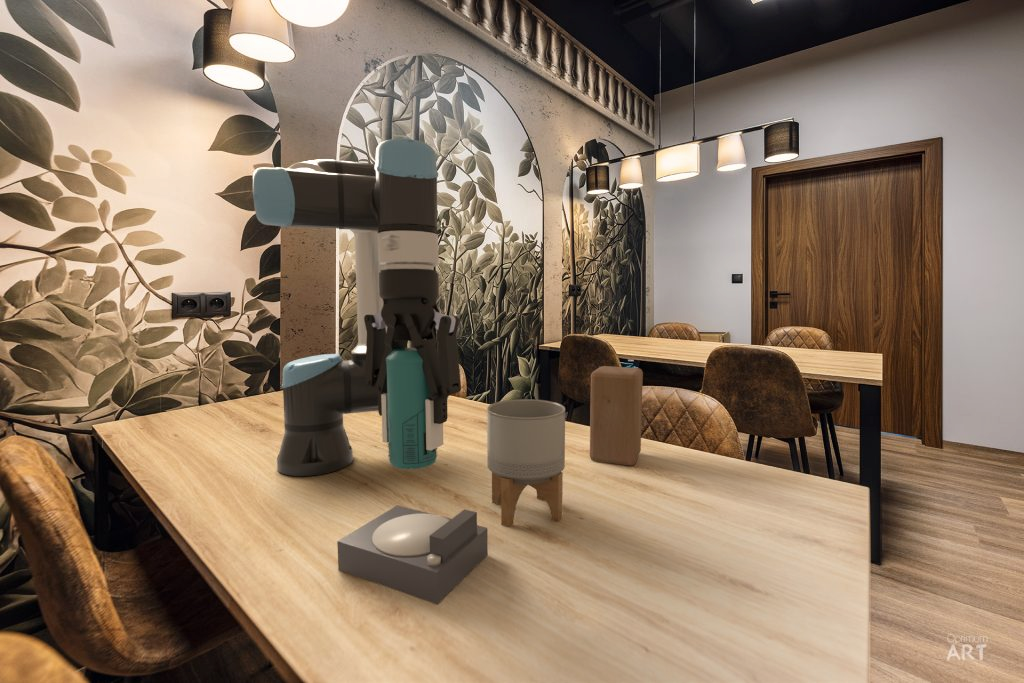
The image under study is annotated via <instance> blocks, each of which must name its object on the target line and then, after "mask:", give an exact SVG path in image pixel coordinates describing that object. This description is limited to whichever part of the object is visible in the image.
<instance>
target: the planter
mask: <svg viewBox="0 0 1024 683" xmlns="http://www.w3.org/2000/svg"><path fill="white" fill-rule="evenodd" d="M486 408H487V409H486V421H487V423H486V425H487V428H486V432H487V433H486V434H487V435H486V436H487V442H486V444H487V445H486V446H487V448H486V449H487V450H486V452H487V469H488V470H489V471H490V472H491V503H492V504H493V505H496V506H497V505H500V504H501V505H500V507H501V510H500V511H501V513H500V515H501V519H500V520H501V521H500V522H501V524H500V525H501V526H504V527H506V528H510V527H512V526H513V525H514V520H515V511H516V507H517V504H518V501H519V500H520V496H521V494H522V492H523V491H524V490H525V488H526V487H528V486H530V487H531V488H533V489H534V490H536V499H538V500H542V501H545V502H546V503H547V506H548V509H549V511H550V518H551V521H554V522H560V520H562V519H563V479H564V478H563V476H564V475H563V471H564V469H565V468H566V467H565V465H566V464H565V462H566V459H565V458H566V457H565V456H566V455H565V454H566V451H565V450H566V447H565V446H566V407H565V406H564V405H562V404H560V403H558V402H555V401H554V402H553V401H550V400H544V399H529V398H528V399H526V398H525V399H507V400H502V401H497V402H493V403H491V404H489V405H488V406H487V407H486Z"/></svg>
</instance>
